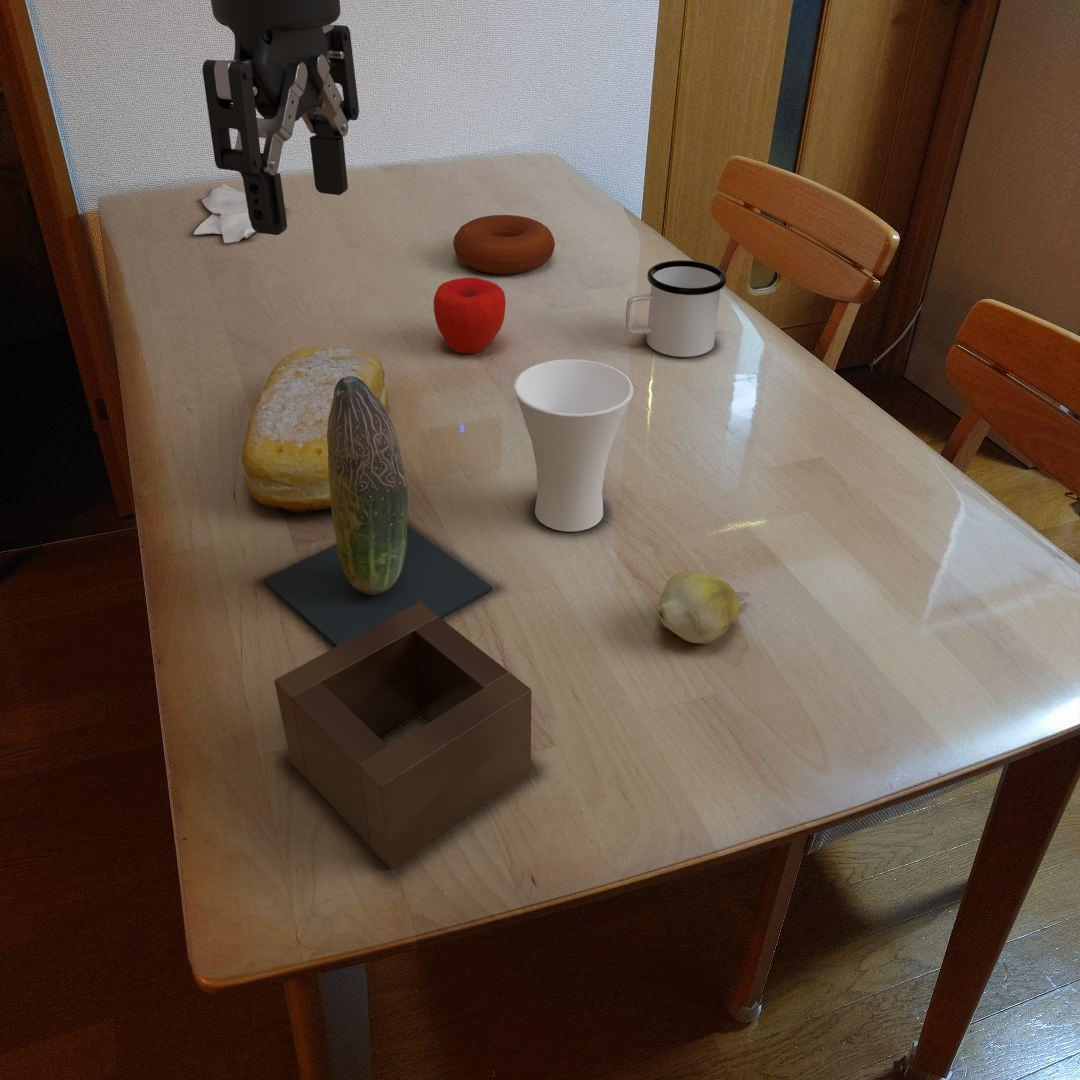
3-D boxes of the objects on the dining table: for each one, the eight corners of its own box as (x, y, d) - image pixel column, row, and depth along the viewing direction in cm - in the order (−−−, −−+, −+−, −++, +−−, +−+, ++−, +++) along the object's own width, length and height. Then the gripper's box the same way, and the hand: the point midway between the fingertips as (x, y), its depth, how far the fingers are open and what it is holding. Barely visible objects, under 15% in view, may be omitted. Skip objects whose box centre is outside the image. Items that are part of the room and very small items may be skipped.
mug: (702, 324, 131) (710, 257, 125) (729, 356, 123) (738, 286, 118) (613, 332, 128) (617, 264, 123) (635, 365, 121) (640, 294, 116)
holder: (391, 870, 64) (380, 786, 59) (290, 761, 71) (273, 679, 66) (531, 771, 70) (531, 689, 66) (426, 681, 78) (419, 601, 73)
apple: (518, 354, 123) (519, 293, 119) (452, 368, 120) (450, 306, 115) (488, 326, 130) (487, 267, 125) (424, 339, 126) (420, 279, 122)
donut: (517, 235, 156) (517, 203, 153) (574, 265, 147) (576, 231, 144) (434, 255, 149) (433, 221, 146) (489, 288, 140) (489, 252, 137)
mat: (356, 665, 79) (355, 662, 79) (263, 582, 87) (263, 578, 87) (492, 590, 87) (492, 586, 86) (395, 520, 95) (395, 516, 95)
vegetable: (328, 576, 87) (298, 366, 75) (394, 553, 90) (375, 347, 78) (357, 615, 83) (330, 400, 71) (425, 590, 86) (410, 378, 74)
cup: (596, 557, 90) (604, 426, 82) (494, 526, 94) (491, 397, 86) (640, 499, 98) (651, 374, 90) (544, 472, 102) (546, 349, 94)
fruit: (774, 622, 84) (696, 664, 77) (716, 606, 88) (638, 644, 82) (773, 557, 82) (694, 593, 76) (714, 543, 86) (635, 577, 80)
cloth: (281, 240, 154) (278, 226, 152) (187, 245, 152) (184, 230, 150) (286, 187, 174) (284, 174, 173) (204, 191, 172) (201, 177, 171)
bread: (232, 526, 94) (217, 453, 89) (274, 391, 115) (263, 326, 110) (377, 522, 94) (370, 449, 90) (392, 389, 116) (387, 324, 111)
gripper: (272, -82, 65) (304, 176, 74) (135, -60, 54) (193, 239, 63) (379, -77, 63) (397, 187, 72) (260, -53, 52) (300, 254, 61)
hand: (302, 211), depth 68 cm, fingers open, 8 cm apart
